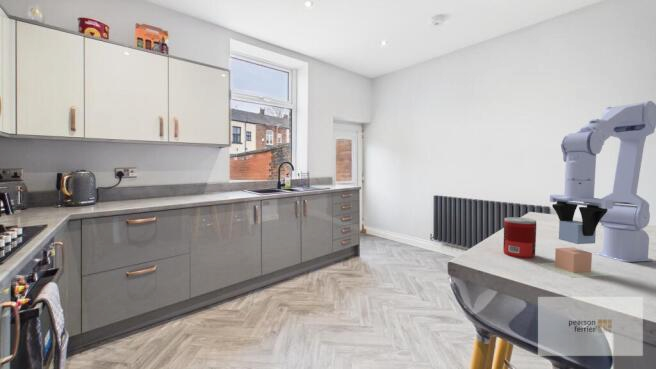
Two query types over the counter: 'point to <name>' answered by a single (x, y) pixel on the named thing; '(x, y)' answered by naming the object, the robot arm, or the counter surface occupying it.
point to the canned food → (519, 237)
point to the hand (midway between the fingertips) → (576, 233)
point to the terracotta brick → (573, 260)
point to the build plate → (570, 274)
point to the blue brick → (574, 233)
